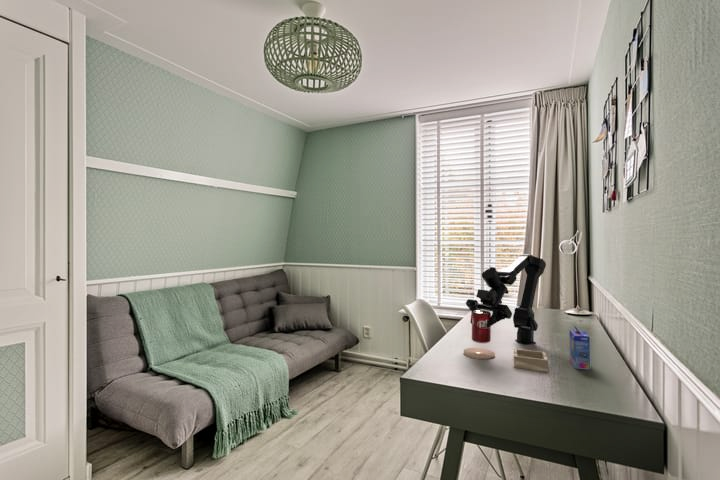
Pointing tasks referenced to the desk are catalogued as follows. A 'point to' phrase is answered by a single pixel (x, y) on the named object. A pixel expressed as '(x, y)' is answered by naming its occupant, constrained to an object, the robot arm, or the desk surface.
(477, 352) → the coaster
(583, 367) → the ink cartridge box
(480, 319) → the soda can
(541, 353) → the birch box
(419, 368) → the desk surface
